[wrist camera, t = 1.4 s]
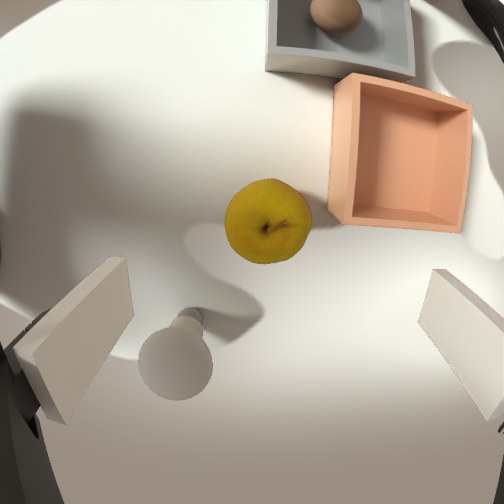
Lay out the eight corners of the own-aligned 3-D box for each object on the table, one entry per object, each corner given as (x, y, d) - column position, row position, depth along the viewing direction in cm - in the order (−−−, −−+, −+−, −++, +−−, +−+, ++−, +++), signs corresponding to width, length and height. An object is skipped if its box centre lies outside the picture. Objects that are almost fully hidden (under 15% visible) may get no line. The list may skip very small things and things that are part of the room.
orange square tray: (326, 208, 27) (343, 224, 22) (333, 85, 23) (352, 72, 18) (430, 217, 27) (460, 233, 22) (439, 108, 23) (472, 105, 18)
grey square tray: (265, 71, 23) (267, 53, 18) (268, -28, 19) (270, -58, 14) (387, 87, 23) (415, 77, 18) (382, -10, 19) (403, -32, 14)
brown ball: (306, 38, 21) (315, 20, 17) (305, -1, 20) (314, -23, 15) (354, 45, 21) (371, 30, 17) (353, 6, 20) (368, -13, 15)
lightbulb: (152, 311, 31) (114, 381, 20) (189, 276, 29) (158, 344, 19) (194, 347, 32) (174, 423, 22) (234, 316, 31) (225, 395, 20)
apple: (310, 183, 26) (332, 200, 19) (291, 251, 28) (304, 290, 21) (238, 166, 26) (231, 175, 18) (223, 235, 28) (211, 270, 20)
